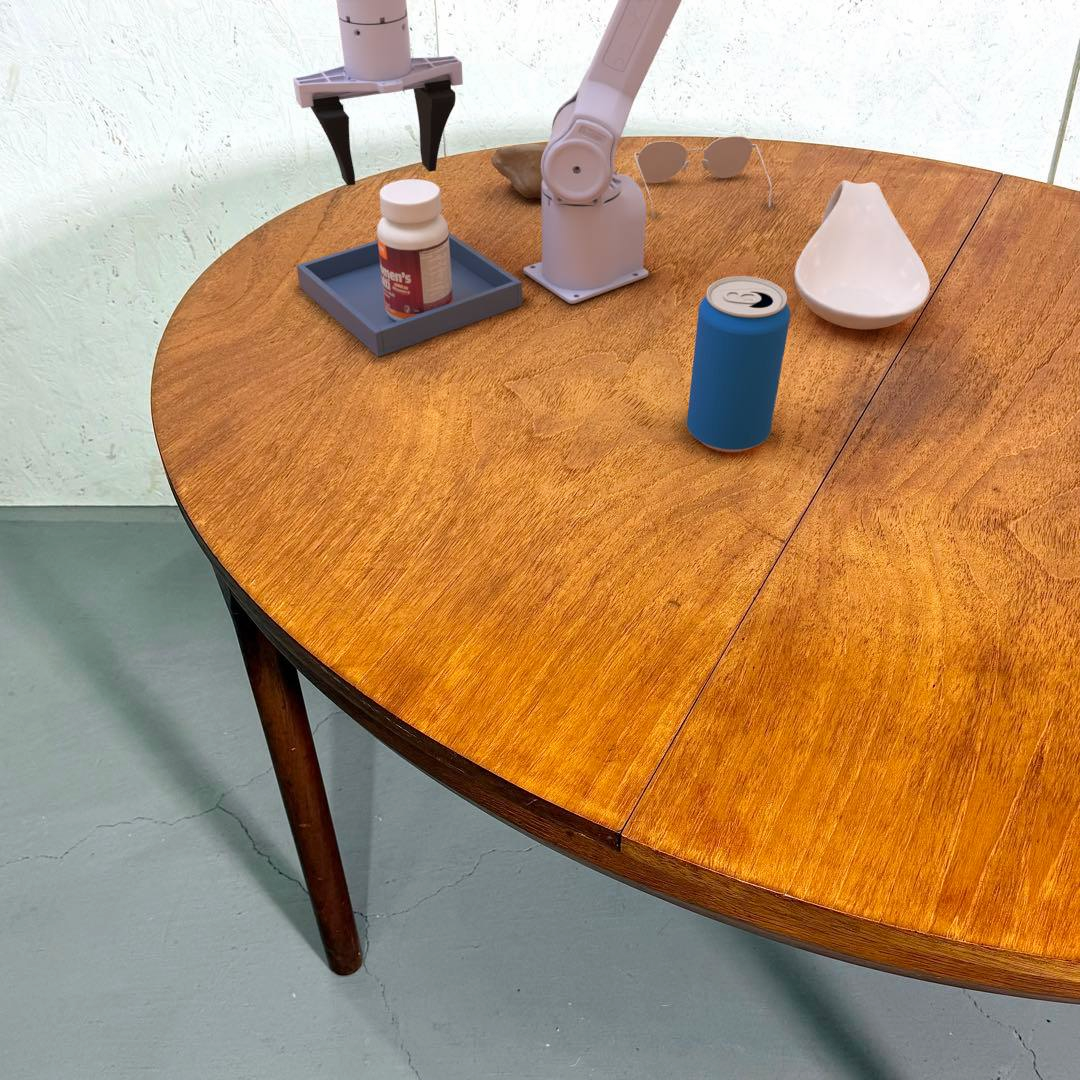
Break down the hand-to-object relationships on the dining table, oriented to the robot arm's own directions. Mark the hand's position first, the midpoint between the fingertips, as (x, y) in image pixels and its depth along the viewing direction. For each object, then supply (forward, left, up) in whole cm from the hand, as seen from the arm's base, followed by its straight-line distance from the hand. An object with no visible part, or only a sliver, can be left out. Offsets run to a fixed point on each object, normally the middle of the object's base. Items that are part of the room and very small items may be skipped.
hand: (389, 174), depth 97 cm
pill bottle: (+3, +9, -9) cm, 13 cm away
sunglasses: (-35, +5, -10) cm, 37 cm away
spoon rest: (-33, +28, -10) cm, 44 cm away
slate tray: (+2, +6, -9) cm, 11 cm away
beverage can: (-7, +39, -10) cm, 41 cm away
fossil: (-21, -6, -10) cm, 24 cm away
